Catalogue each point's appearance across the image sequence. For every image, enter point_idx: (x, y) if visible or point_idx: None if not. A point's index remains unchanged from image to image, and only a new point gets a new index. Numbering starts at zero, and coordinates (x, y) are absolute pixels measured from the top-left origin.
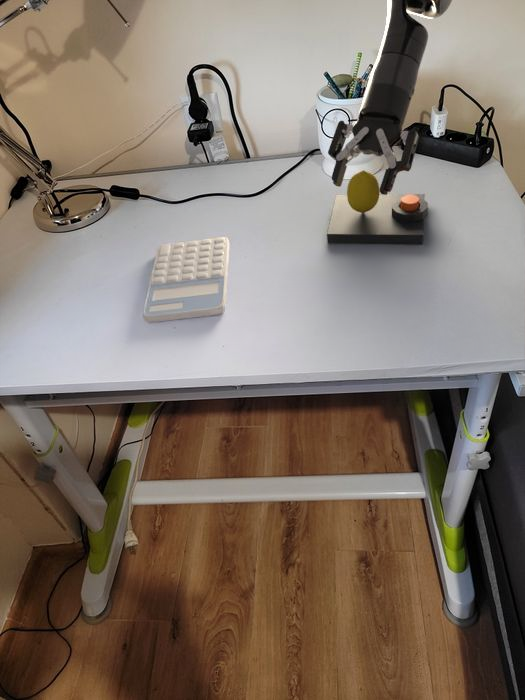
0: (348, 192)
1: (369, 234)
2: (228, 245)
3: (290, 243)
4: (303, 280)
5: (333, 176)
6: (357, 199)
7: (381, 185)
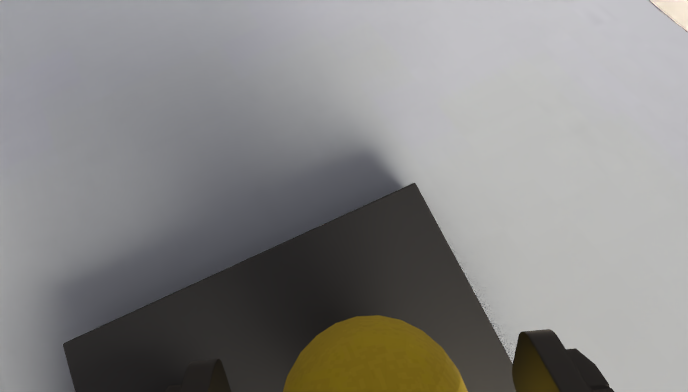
0: (428, 336)
1: (264, 252)
2: (683, 4)
3: (523, 138)
4: (362, 13)
5: (584, 370)
6: (356, 317)
7: (205, 384)
